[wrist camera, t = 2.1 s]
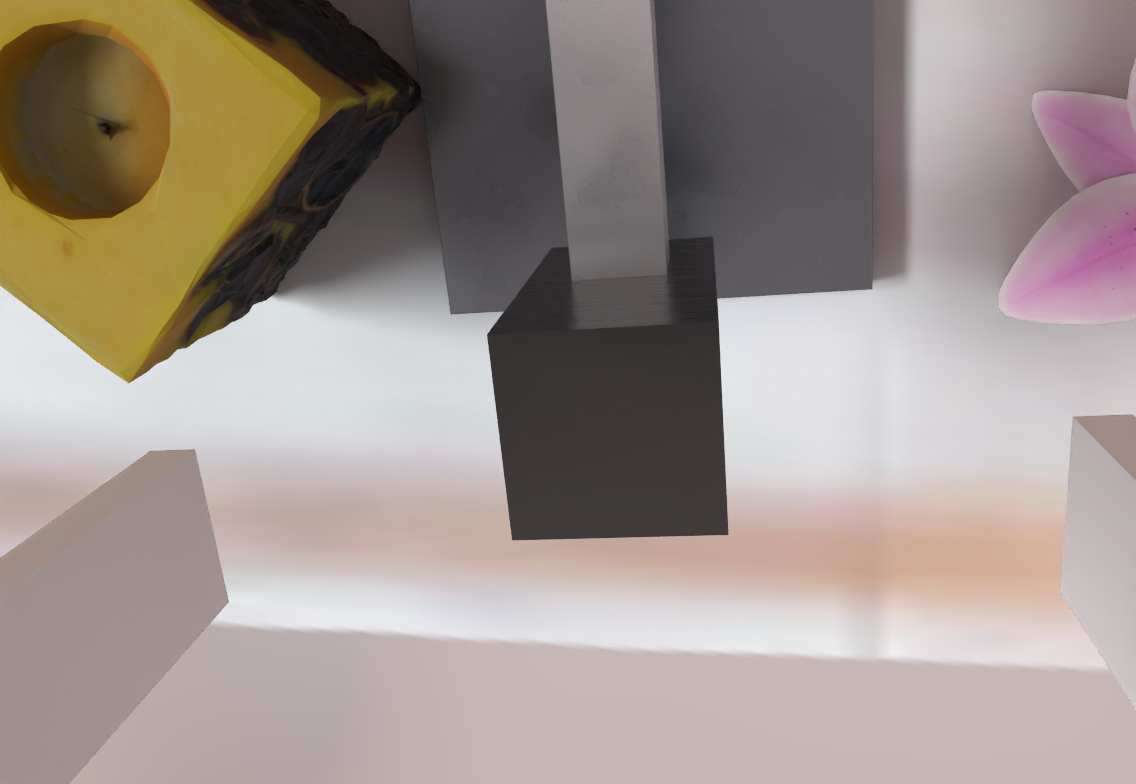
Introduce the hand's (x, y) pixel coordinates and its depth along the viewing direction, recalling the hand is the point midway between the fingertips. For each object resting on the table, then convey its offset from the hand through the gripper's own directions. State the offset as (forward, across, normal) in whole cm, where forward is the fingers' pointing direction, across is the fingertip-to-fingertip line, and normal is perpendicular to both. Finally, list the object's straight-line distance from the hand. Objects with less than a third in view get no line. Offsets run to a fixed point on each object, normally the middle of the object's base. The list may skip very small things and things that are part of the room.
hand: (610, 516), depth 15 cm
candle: (+20, -14, +6) cm, 26 cm away
